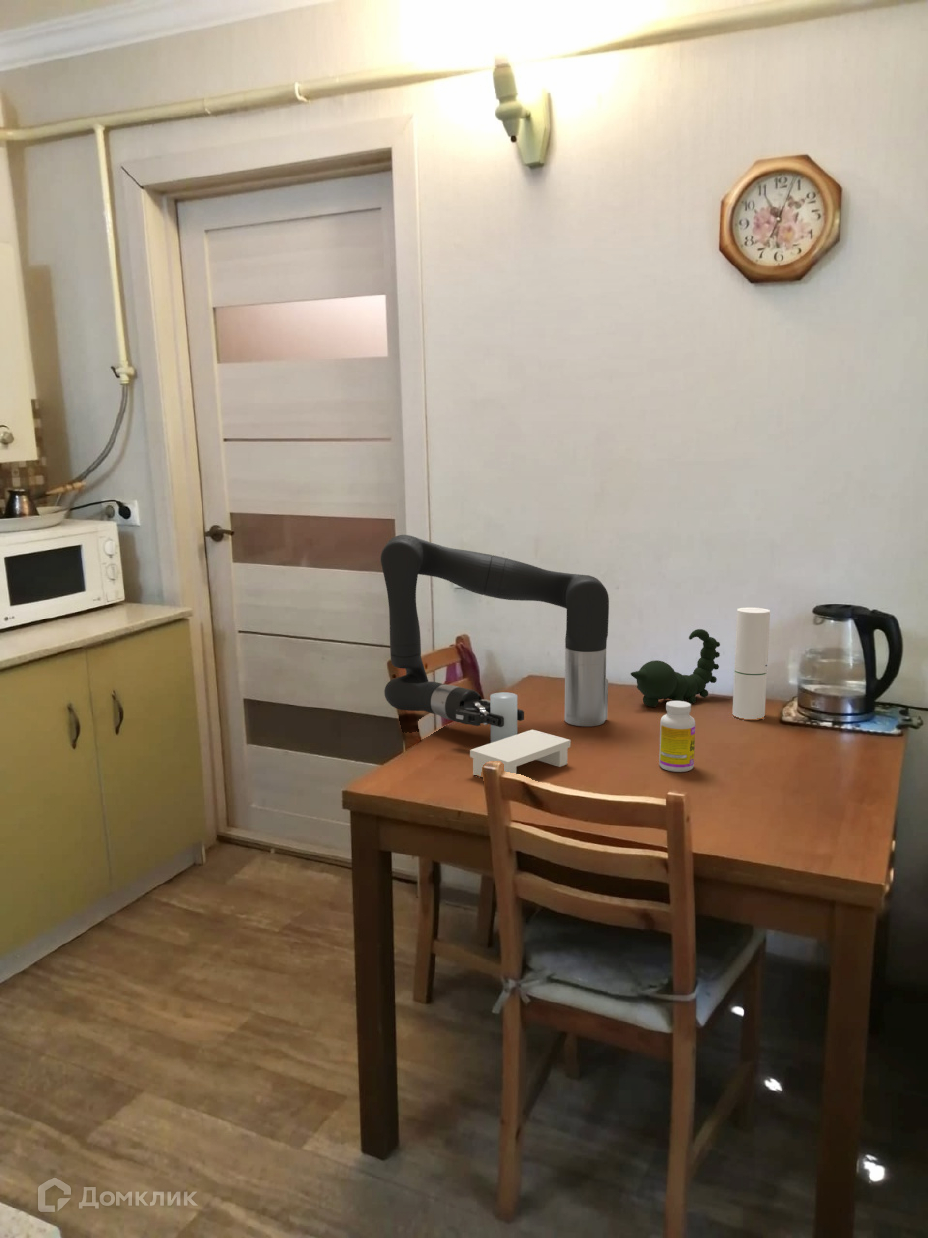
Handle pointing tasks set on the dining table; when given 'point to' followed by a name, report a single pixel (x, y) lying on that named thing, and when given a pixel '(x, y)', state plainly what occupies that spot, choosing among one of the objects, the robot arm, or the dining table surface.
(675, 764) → the supplement bottle
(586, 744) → the dining table surface
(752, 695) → the cylindrical container
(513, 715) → the white rounded cylinder
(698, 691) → the toy figurine
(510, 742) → the white riser stand
